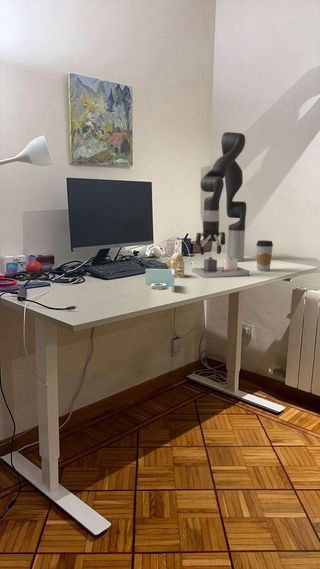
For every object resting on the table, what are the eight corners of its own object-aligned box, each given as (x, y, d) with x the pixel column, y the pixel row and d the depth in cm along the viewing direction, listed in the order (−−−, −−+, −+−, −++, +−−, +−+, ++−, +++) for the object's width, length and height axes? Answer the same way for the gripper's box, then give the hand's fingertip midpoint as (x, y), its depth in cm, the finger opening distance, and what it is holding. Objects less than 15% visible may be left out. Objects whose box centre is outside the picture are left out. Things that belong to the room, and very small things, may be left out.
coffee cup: (270, 269, 242) (272, 240, 239) (272, 271, 234) (274, 242, 231) (254, 268, 242) (255, 240, 240) (255, 271, 234) (257, 241, 231)
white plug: (224, 272, 228) (224, 255, 226) (232, 272, 229) (233, 255, 228) (228, 274, 224) (229, 257, 222) (236, 273, 225) (237, 256, 223)
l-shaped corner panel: (145, 286, 197) (145, 268, 195) (173, 286, 197) (174, 269, 195) (144, 292, 185) (144, 273, 184) (174, 292, 185) (174, 274, 183)
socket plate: (191, 273, 227) (191, 266, 227) (235, 271, 235) (235, 264, 234) (203, 278, 214) (203, 271, 214) (249, 275, 222) (249, 269, 221)
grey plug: (203, 273, 224) (204, 256, 223) (212, 273, 226) (212, 256, 224) (207, 275, 220) (208, 258, 218) (216, 274, 221) (217, 257, 220)
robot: (167, 279, 210) (167, 246, 208) (163, 276, 218) (163, 244, 215) (189, 279, 213) (190, 246, 210) (184, 275, 220) (185, 244, 217)
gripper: (221, 219, 224) (220, 252, 227) (194, 219, 219) (193, 253, 222) (228, 220, 217) (227, 254, 220) (200, 221, 212) (199, 256, 216)
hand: (210, 254), depth 221 cm, fingers open, 8 cm apart
